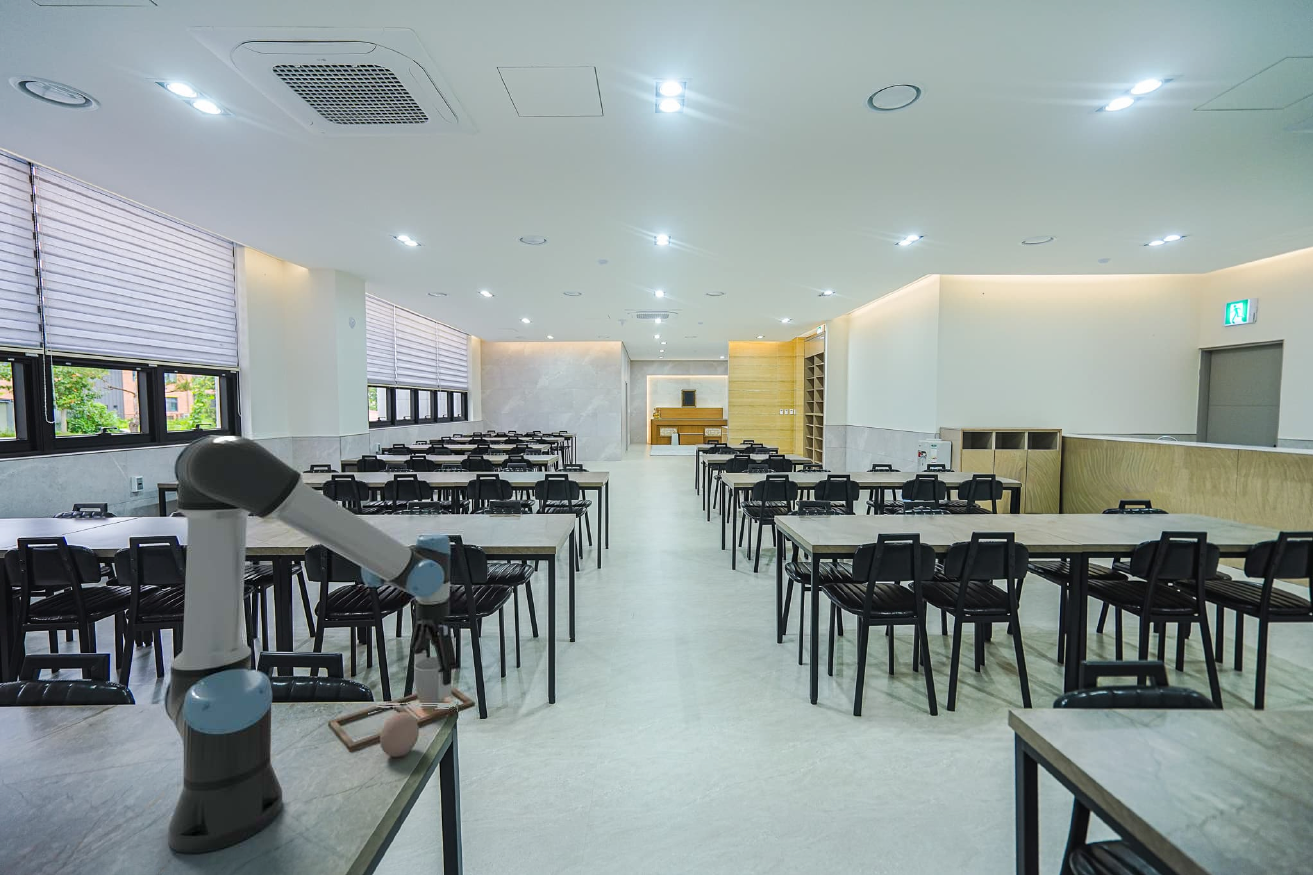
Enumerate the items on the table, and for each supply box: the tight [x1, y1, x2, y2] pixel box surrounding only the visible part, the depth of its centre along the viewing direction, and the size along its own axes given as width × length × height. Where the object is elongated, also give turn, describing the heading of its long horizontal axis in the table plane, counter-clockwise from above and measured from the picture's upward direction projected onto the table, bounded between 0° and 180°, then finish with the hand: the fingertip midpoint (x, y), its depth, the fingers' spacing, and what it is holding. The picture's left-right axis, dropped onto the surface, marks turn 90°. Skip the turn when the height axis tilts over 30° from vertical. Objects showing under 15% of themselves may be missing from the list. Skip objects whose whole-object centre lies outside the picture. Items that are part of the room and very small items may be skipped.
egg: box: [379, 712, 420, 758], centre depth 114 cm, size 7×7×8 cm
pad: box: [407, 697, 455, 719], centre depth 134 cm, size 9×9×1 cm
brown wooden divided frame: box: [327, 685, 476, 752], centre depth 130 cm, size 14×28×1 cm, turn 136°
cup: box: [413, 656, 445, 710], centre depth 134 cm, size 8×8×10 cm
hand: (432, 688), depth 134 cm, fingers open, 13 cm apart
